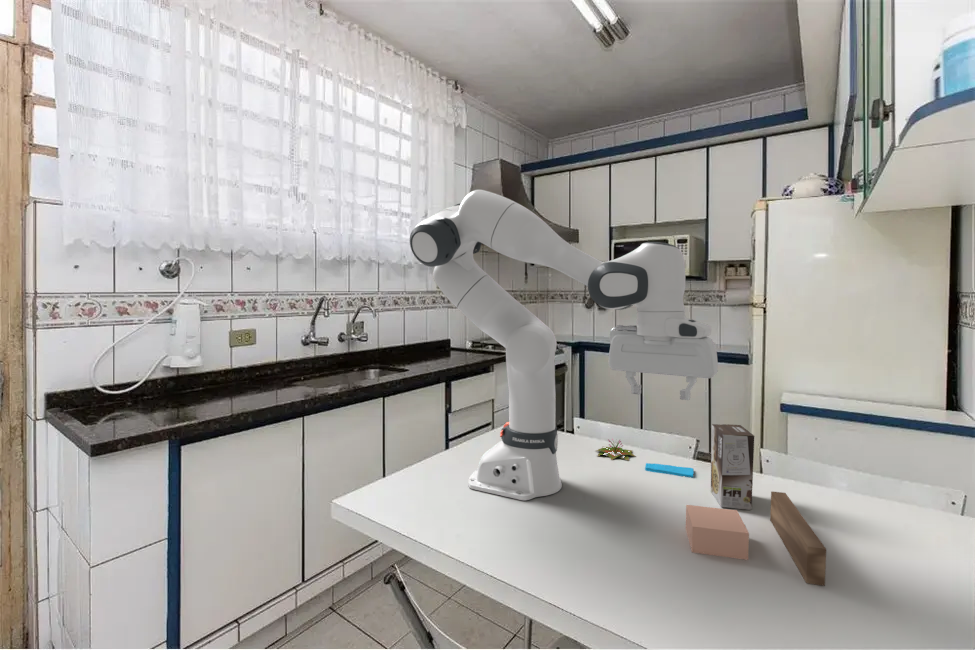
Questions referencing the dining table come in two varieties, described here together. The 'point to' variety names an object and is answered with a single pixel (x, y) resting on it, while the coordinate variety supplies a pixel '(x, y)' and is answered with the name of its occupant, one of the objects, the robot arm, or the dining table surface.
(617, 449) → the lily flower
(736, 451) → the coffee box
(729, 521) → the terracotta block
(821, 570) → the walnut board
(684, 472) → the sponge
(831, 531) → the dining table surface
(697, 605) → the dining table surface
